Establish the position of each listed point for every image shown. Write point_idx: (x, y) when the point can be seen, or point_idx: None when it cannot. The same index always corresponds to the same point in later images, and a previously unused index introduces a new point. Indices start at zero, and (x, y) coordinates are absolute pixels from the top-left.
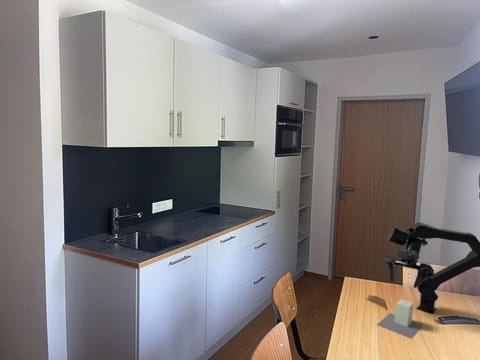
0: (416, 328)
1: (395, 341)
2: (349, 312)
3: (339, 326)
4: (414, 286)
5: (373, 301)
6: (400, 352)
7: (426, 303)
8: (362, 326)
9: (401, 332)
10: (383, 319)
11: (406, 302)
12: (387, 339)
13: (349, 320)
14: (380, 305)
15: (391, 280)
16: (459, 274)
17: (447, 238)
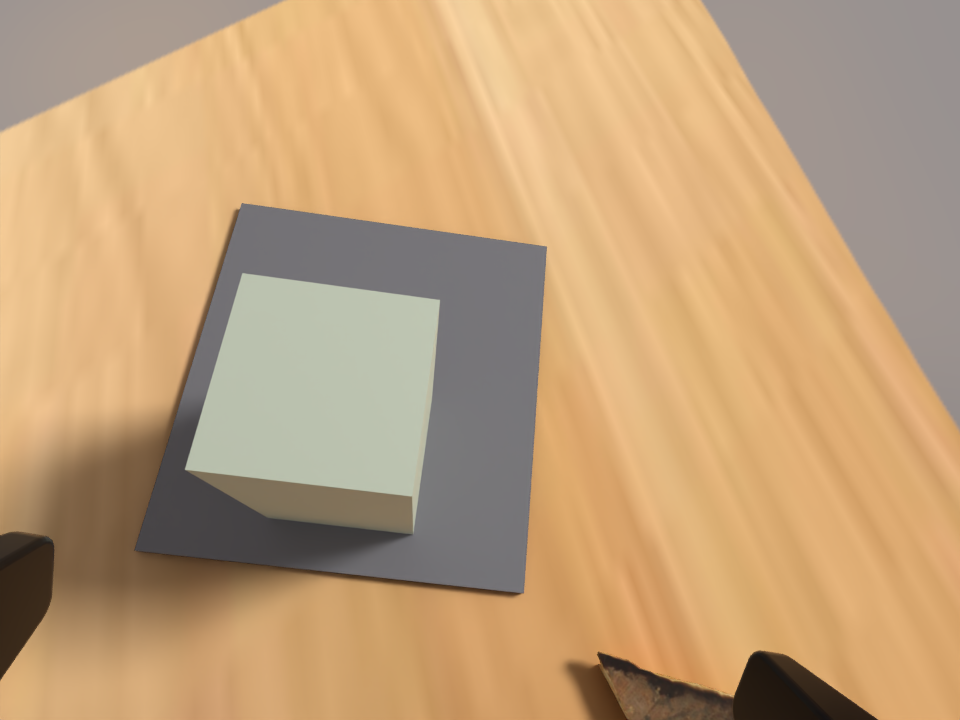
0: None
1: (352, 120)
2: (819, 326)
3: (738, 89)
4: (11, 536)
5: None
6: (297, 23)
7: None
8: (622, 175)
9: (332, 249)
10: (531, 380)
11: (300, 425)
12: (409, 113)
13: (739, 200)
14: (679, 681)
15: (781, 664)
16: None
17: None
